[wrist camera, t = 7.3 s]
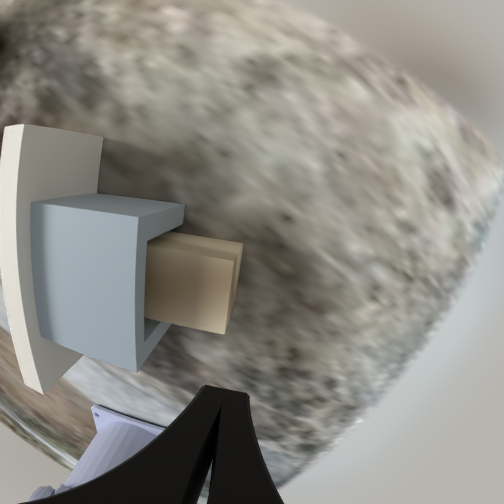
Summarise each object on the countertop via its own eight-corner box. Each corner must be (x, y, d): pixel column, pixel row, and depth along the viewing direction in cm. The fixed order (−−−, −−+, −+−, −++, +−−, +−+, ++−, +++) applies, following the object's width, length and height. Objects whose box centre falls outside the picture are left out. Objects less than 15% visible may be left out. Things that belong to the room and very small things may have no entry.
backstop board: (98, 340, 19) (43, 394, 12) (81, 334, 19) (25, 384, 12) (103, 137, 16) (24, 123, 9) (84, 137, 16) (4, 126, 9)
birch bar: (235, 302, 17) (224, 334, 14) (114, 277, 18) (80, 299, 14) (244, 242, 17) (234, 260, 13) (116, 222, 17) (78, 234, 13)
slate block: (175, 318, 18) (136, 372, 12) (94, 297, 18) (40, 336, 12) (185, 204, 16) (138, 217, 10) (96, 193, 16) (30, 202, 11)
